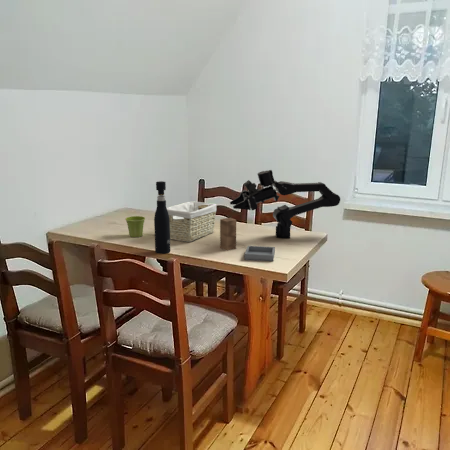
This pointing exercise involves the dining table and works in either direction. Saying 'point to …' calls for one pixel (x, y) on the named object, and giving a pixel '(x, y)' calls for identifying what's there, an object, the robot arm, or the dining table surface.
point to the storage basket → (191, 220)
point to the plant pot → (135, 225)
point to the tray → (260, 253)
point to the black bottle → (161, 222)
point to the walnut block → (228, 234)
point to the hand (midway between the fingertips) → (231, 205)
